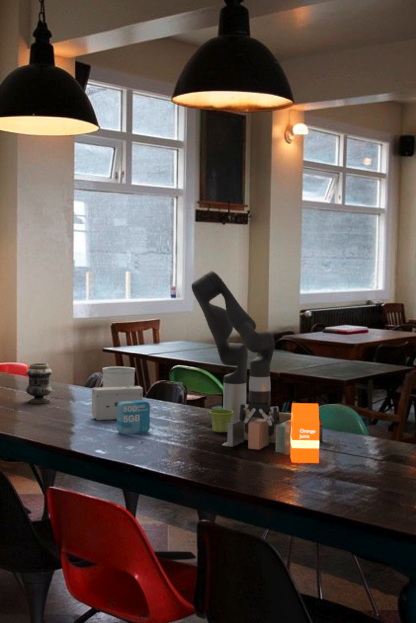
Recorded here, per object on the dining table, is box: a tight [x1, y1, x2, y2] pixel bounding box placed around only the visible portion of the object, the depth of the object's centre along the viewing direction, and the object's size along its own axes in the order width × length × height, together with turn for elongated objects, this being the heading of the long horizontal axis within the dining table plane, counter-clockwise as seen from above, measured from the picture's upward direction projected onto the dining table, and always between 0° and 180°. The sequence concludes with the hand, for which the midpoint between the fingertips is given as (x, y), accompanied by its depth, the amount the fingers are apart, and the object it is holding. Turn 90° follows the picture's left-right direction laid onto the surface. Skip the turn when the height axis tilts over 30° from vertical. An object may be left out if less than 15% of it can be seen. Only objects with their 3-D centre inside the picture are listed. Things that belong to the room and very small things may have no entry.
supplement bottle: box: [319, 413, 323, 444], centre depth 307 cm, size 6×6×11 cm
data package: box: [116, 400, 151, 435], centre depth 326 cm, size 12×4×12 cm, turn 118°
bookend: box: [222, 419, 245, 448], centre depth 301 cm, size 10×4×8 cm, turn 154°
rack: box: [239, 409, 292, 456], centre depth 297 cm, size 16×25×12 cm, turn 64°
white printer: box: [91, 372, 144, 421], centre depth 354 cm, size 21×8×20 cm, turn 108°
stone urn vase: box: [25, 362, 53, 404], centre depth 395 cm, size 12×12×18 cm
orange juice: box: [289, 402, 320, 467], centre depth 277 cm, size 8×9×20 cm
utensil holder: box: [102, 366, 136, 387], centre depth 385 cm, size 15×15×18 cm
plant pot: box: [209, 408, 234, 433], centre depth 325 cm, size 9×9×9 cm
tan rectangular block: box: [247, 419, 270, 451], centre depth 297 cm, size 4×9×9 cm, turn 154°
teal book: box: [275, 421, 287, 454], centre depth 292 cm, size 10×4×9 cm, turn 154°
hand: (259, 434), depth 296 cm, fingers open, 8 cm apart
